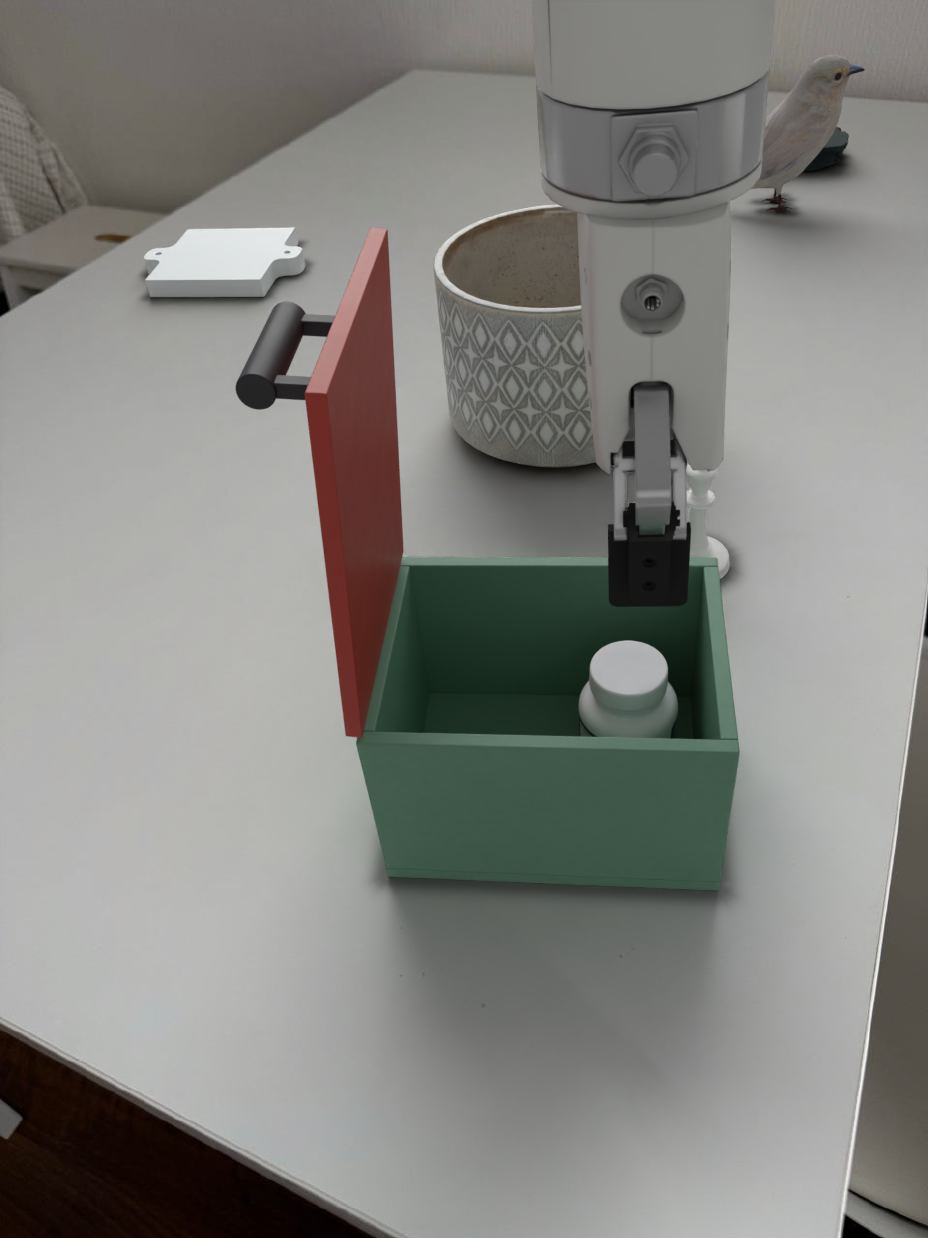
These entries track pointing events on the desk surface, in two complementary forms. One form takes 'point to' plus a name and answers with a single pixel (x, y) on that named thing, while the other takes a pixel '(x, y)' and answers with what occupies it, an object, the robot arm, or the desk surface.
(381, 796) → the box
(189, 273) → the mounting plate
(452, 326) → the planter
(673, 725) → the pill bottle
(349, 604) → the lid
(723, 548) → the chess piece
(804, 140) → the bird
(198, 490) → the desk surface
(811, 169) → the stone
